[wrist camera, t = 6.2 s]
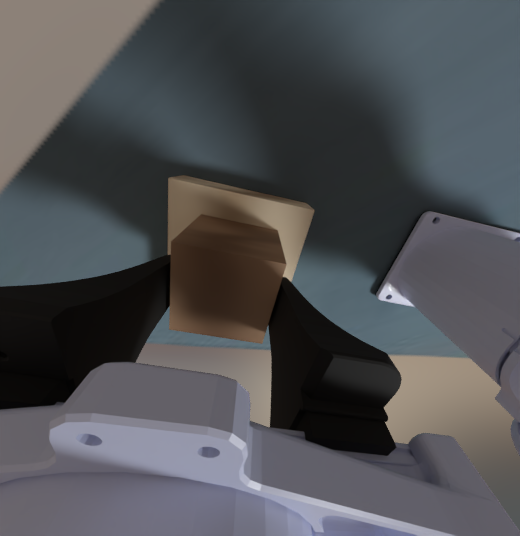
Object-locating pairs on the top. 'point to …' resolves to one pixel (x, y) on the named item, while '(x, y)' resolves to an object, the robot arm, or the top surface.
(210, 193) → the maple block
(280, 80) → the top surface
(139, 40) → the top surface
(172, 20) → the top surface
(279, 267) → the walnut cube
